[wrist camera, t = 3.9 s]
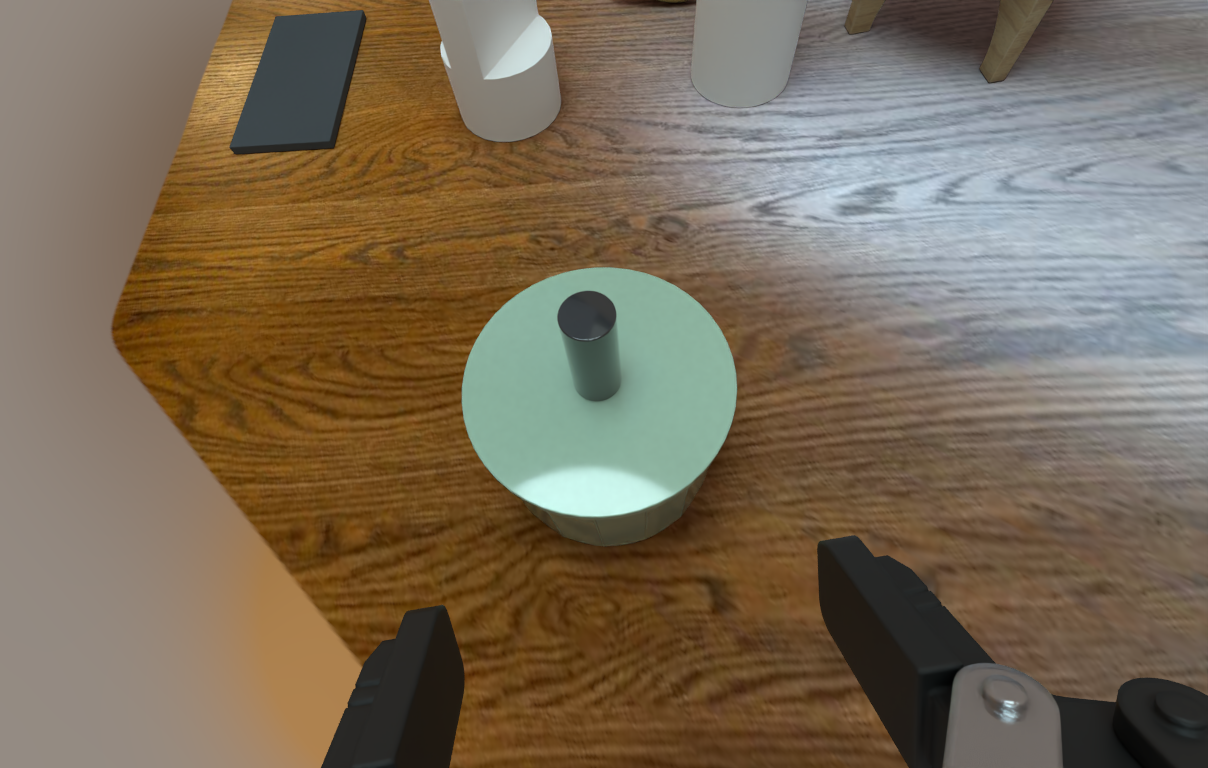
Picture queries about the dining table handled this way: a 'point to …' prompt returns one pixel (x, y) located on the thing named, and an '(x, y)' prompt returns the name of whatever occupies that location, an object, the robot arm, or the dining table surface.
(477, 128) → the base with upright slab
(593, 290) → the lid
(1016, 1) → the planter
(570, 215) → the dining table surface
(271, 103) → the mat
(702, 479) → the pot
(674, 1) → the banana
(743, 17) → the container
